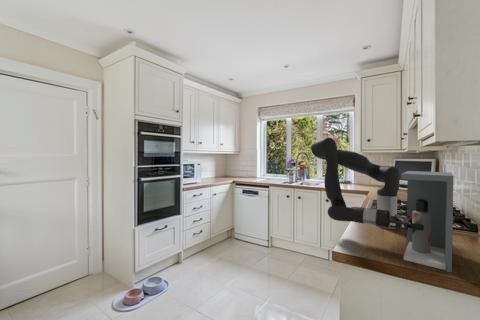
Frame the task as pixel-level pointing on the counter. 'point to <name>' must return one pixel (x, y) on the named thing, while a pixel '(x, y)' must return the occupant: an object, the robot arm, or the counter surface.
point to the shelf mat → (426, 257)
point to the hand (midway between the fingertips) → (424, 225)
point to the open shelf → (433, 206)
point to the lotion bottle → (423, 238)
